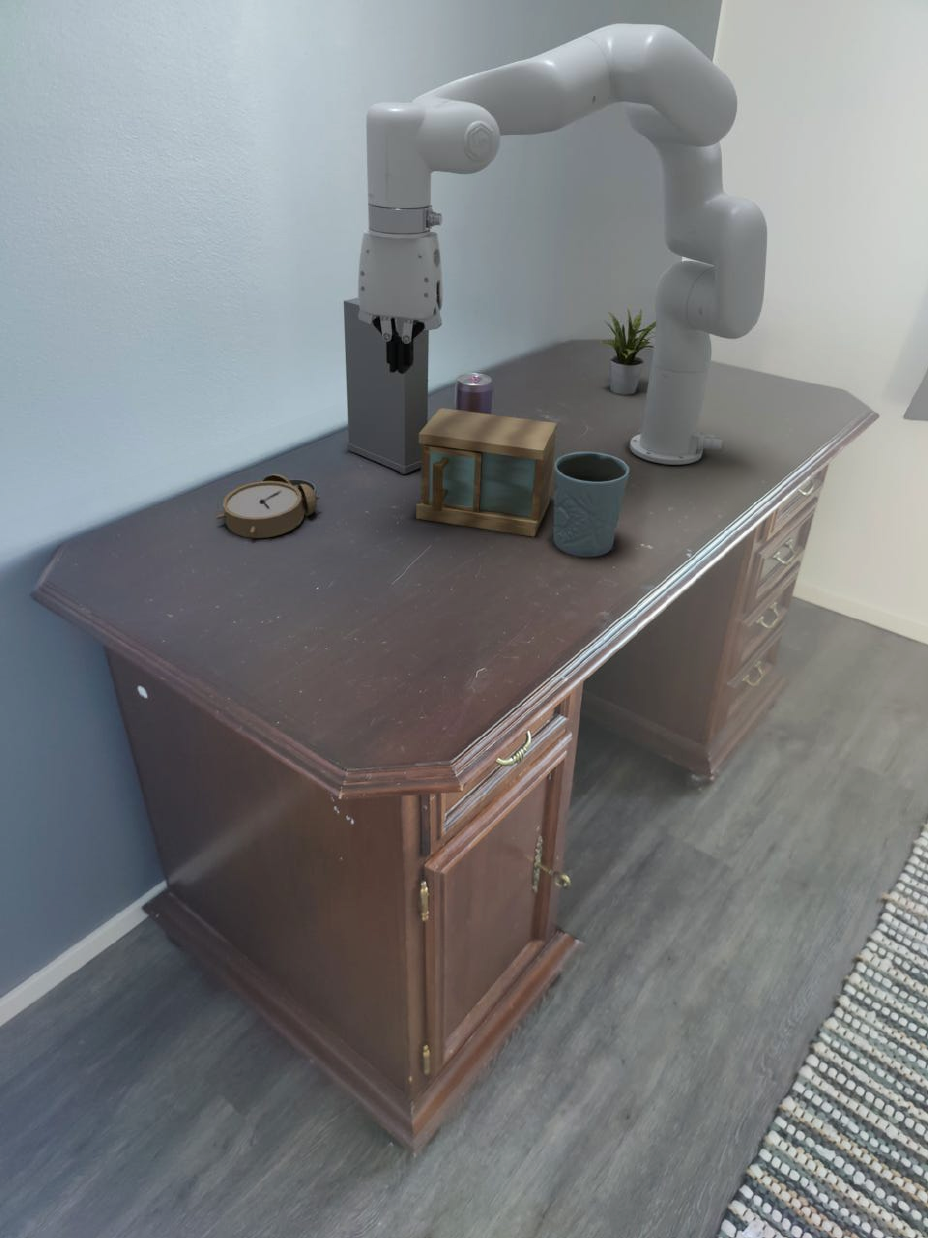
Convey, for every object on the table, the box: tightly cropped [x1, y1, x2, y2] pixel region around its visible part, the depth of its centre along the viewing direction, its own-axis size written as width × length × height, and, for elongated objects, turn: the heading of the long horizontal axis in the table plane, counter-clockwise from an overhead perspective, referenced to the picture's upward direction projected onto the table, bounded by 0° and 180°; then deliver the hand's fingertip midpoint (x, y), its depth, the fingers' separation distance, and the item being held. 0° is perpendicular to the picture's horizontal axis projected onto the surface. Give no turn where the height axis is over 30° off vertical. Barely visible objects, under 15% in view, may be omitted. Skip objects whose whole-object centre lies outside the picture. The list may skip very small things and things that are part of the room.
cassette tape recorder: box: [343, 297, 430, 475], centre depth 144 cm, size 14×6×25 cm, turn 48°
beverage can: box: [453, 372, 494, 415], centre depth 145 cm, size 6×6×15 cm
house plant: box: [599, 309, 656, 396], centre depth 179 cm, size 14×14×16 cm
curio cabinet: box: [415, 407, 558, 538], centre depth 132 cm, size 18×12×13 cm, turn 75°
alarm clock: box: [216, 473, 321, 539], centre depth 131 cm, size 11×5×15 cm
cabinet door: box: [424, 444, 482, 513], centre depth 128 cm, size 8×5×9 cm, turn 75°
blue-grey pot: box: [552, 451, 630, 558], centre depth 125 cm, size 10×10×12 cm
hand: (400, 369), depth 118 cm, fingers closed
